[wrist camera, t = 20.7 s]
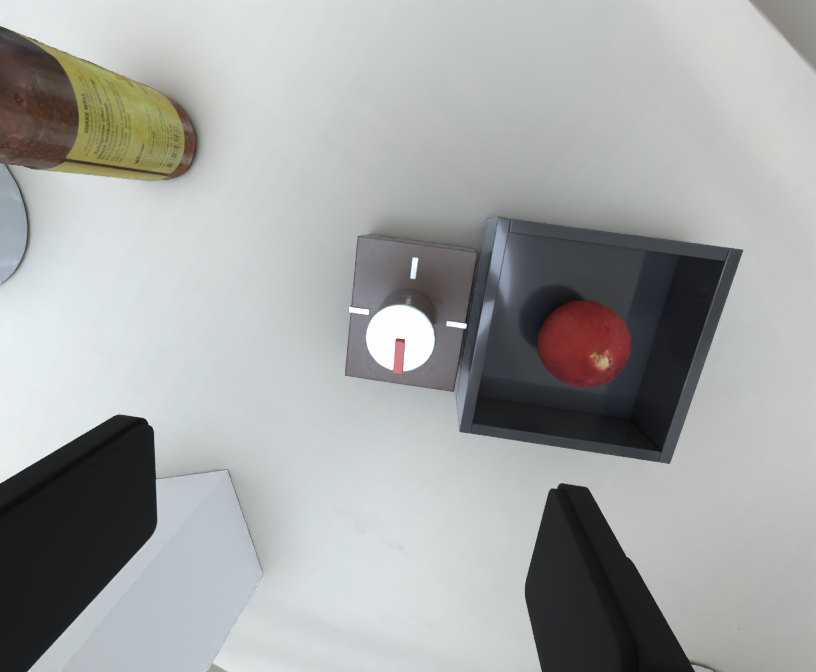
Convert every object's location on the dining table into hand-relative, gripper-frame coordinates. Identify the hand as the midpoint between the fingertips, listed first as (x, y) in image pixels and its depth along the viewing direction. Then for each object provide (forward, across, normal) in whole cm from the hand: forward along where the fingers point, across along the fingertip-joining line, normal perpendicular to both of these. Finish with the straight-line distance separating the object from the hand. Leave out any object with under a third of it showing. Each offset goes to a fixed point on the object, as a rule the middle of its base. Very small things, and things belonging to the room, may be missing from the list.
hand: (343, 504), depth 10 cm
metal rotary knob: (+20, 0, 0) cm, 20 cm away
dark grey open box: (+24, -12, 0) cm, 27 cm away
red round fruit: (+24, -12, 0) cm, 26 cm away
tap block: (+24, 0, 0) cm, 24 cm away
